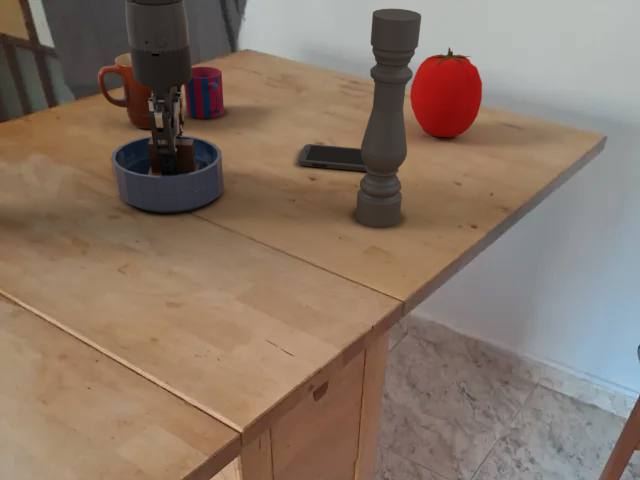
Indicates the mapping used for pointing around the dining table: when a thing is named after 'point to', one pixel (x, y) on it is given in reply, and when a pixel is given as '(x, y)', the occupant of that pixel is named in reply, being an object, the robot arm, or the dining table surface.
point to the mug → (128, 91)
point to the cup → (204, 93)
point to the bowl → (166, 178)
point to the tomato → (446, 94)
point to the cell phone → (332, 157)
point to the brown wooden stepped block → (183, 157)
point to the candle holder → (387, 116)
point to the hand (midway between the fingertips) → (173, 171)
